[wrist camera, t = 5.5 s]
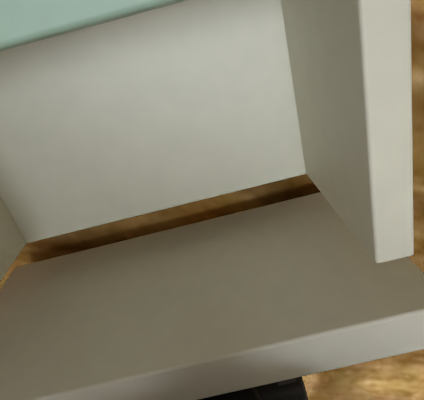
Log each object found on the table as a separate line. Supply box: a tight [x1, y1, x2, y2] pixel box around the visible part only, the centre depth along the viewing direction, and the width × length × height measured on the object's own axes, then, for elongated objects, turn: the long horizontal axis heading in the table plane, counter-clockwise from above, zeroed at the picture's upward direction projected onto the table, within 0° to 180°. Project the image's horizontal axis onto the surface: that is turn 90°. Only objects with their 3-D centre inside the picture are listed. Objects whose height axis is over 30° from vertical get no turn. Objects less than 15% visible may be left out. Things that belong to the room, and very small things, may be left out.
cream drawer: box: [0, 0, 424, 400], centre depth 10 cm, size 15×12×6 cm
